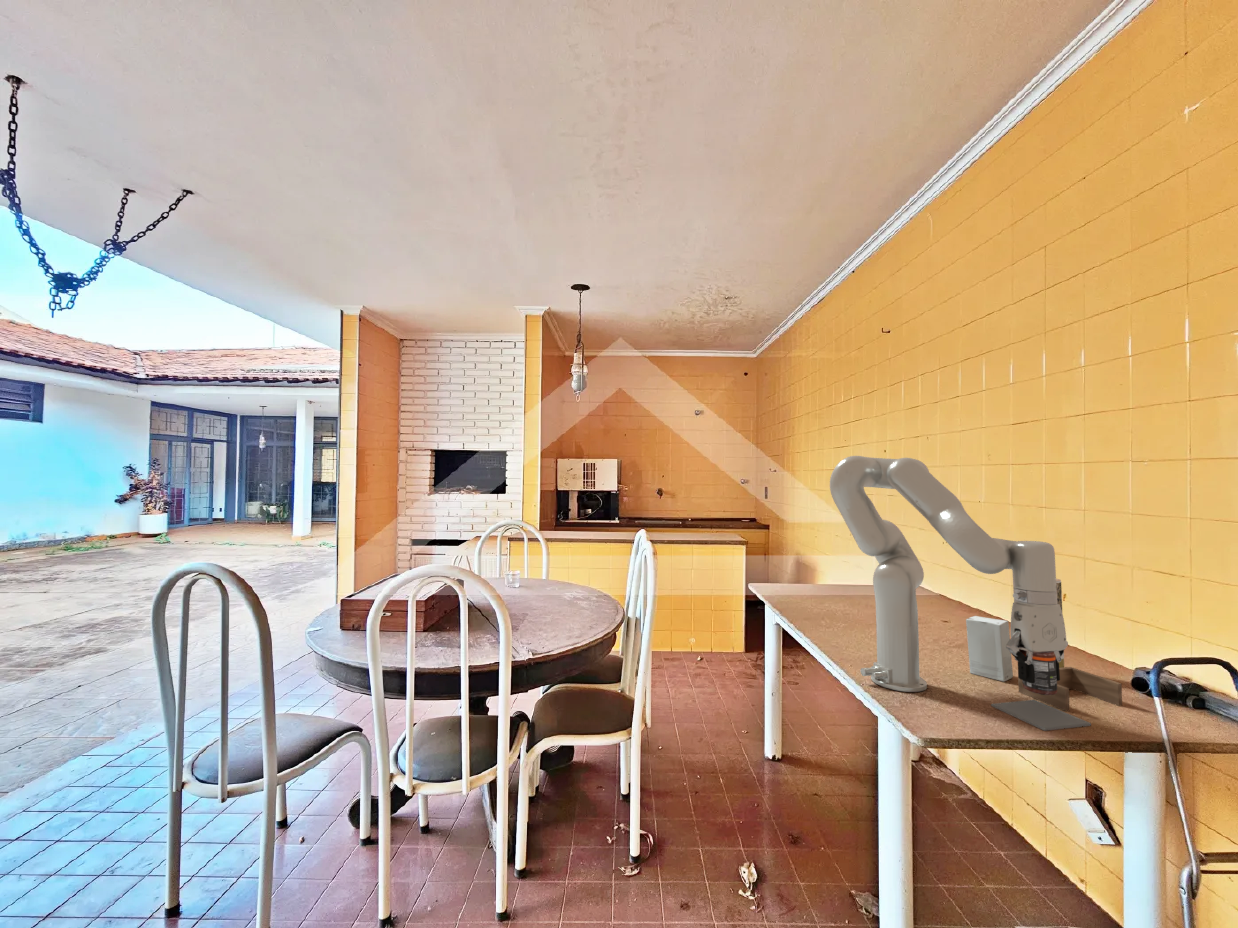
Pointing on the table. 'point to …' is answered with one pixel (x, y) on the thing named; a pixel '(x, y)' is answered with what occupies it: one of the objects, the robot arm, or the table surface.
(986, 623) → the skincare box
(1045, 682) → the supplement bottle
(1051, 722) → the grey mat
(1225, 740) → the table surface
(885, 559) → the robot arm
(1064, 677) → the wooden open-sided frame
